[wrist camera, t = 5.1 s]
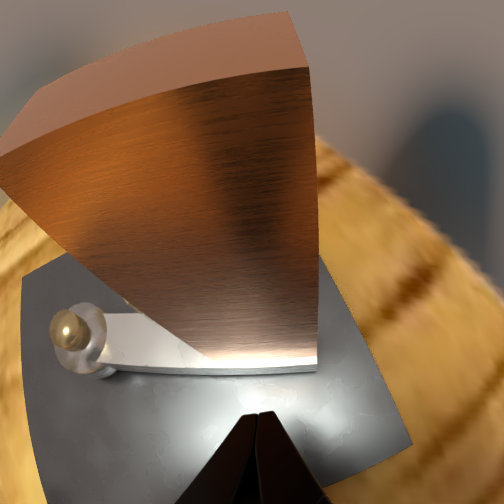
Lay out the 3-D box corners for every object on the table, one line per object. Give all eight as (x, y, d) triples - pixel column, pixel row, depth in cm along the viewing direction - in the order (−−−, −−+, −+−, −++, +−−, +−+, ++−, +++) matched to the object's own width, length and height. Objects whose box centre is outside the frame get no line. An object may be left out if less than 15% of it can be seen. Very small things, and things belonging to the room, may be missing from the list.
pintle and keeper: (93, 374, 16) (33, 351, 11) (112, 260, 20) (69, 216, 15) (203, 383, 15) (158, 364, 10) (211, 250, 18) (180, 195, 14)
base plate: (406, 443, 11) (412, 444, 10) (65, 522, 11) (54, 524, 10) (267, 173, 21) (265, 163, 20) (30, 283, 20) (22, 277, 19)
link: (71, 375, 14) (-128, 267, 4) (80, 314, 16) (-89, 179, 6) (317, 384, 12) (329, 131, 2) (312, 305, 14) (282, -3, 4)
